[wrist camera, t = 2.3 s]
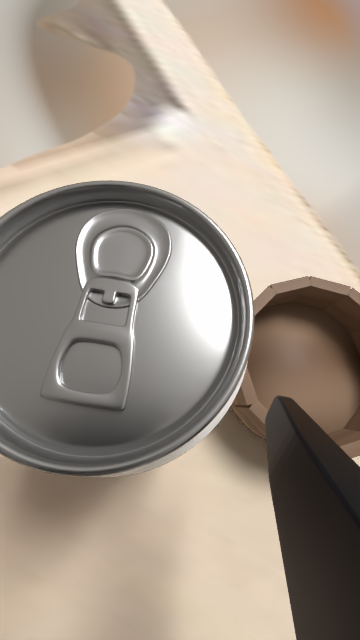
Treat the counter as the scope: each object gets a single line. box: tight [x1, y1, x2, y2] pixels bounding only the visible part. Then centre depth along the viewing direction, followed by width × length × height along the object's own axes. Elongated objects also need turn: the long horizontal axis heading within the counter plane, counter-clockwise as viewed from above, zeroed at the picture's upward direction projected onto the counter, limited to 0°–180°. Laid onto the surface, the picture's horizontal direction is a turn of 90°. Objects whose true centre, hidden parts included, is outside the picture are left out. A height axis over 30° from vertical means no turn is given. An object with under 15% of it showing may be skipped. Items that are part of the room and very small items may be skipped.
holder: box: [230, 276, 360, 458], centre depth 15 cm, size 10×10×4 cm
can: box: [0, 181, 254, 477], centre depth 10 cm, size 6×6×12 cm
